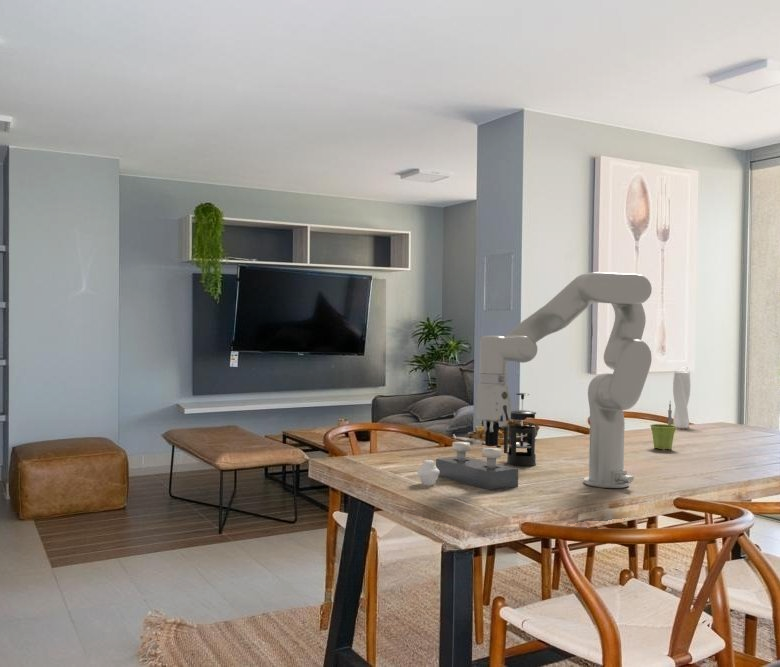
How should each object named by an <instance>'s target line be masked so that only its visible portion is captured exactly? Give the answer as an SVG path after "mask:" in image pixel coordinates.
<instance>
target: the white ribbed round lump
mask: <svg viewBox="0 0 780 667" xmlns="http://www.w3.org/2000/svg"><path fill="white" fill-rule="evenodd" d="M439 473H440V471H439V470H438V468H437V467H436V461H434V460H432V459H425V460H424V461H423V462H422V464H421V466H420V467H419V468H418V469H417V474H418V478H419V481H420V482H421V484H422V485H423V486H426V487H427V486H434V485H435V484H436V481H437V480H438V478H439V476H438V475H439Z"/></svg>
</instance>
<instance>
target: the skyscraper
mask: <svg viewBox="0 0 780 667" xmlns="http://www.w3.org/2000/svg"><path fill="white" fill-rule="evenodd" d="M682 368H684V369H685V370H684V369H682ZM688 368H689V367H688V366H678V367H677V368H676V369H675V370H674V371H673V380H672V381H673V382H672V384H673V385H672V392H673V393H672V394H673V401H674V406H675V408H674V413H673V419H672V412H673V410H672V404H671V400H669V404H668V406H669V407H668V408H669V409H668V410H667V413H668V417H667V425H674V426H677V428H679V429H687V428H690V422H689V412H688V411H689V410H688V404H689V401H690V395H691V372H690V371H689V370H688ZM672 420H673V421H672Z"/></svg>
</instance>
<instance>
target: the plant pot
mask: <svg viewBox="0 0 780 667" xmlns="http://www.w3.org/2000/svg"><path fill="white" fill-rule="evenodd" d="M649 427H650V429H651V434H652V441H653V448H654V449H655V448H658V449H657V450H660V449H669V450H672V448H673V441H674V435H675V432H676V428H677V426H674V425H673V424H671V425H668V423H667V424H665V423H664V424H663V423H655V424H654V423H653V424H649Z"/></svg>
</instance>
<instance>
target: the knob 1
mask: <svg viewBox="0 0 780 667" xmlns="http://www.w3.org/2000/svg"><path fill="white" fill-rule="evenodd" d="M451 448H452V449H451V450H452V451H455V452H456V457H457V461H459V462H463V461H466V457H467V455H466V454H467V453H466V452H470V451H471V443H470V441H469V442H468V441H453V442H452V447H451Z"/></svg>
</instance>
